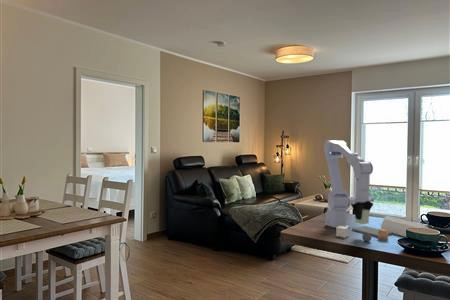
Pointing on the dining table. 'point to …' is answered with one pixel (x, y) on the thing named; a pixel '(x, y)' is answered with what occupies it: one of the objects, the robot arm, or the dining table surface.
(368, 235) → the rubber ball
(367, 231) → the slate board
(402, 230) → the crystal
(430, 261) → the dining table surface
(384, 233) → the tan sphere
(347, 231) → the off-white cube
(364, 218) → the sage block
